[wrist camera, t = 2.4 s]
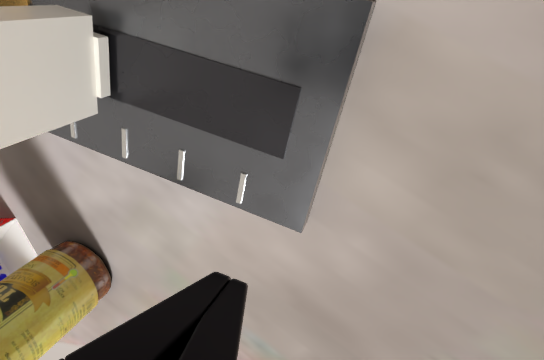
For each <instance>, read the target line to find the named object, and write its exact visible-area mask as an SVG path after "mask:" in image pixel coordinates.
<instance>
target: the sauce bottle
mask: <svg viewBox="0 0 544 360" xmlns="http://www.w3.org/2000/svg"><path fill="white" fill-rule="evenodd" d="M110 287H111V277H110V274H109V272H108V270H107V268H106V267H105V265H104V263H103V261H102V260H101V258H100V257H98V256H97V255H96V254H95V253H94V252H92V251H91V250H90V249H89V248H87V247H85V246H83V245H81V244H80V243H75V242H73V241H72V242H71V241H66V242H64V243H61V244H59V245H57V246H56V247H54V248H53V249H50V250H46V251H45V252H43V253H42V254H40V255H39V256H37V257H36V258H34V259H33V260H31V261H30V262H28V263H27V264H25V265H24V266H22V267H21V268H19V269H18V270H16V271H15V272H13V273H12V274H10V275H9V276H7V277H6V278H4V279H3V280H1V281H0V360H38V359H39V358H40V357H41V356H42V355H44V354H45V353H46V352H47V351H48V350H49V349H50V348H51V347H52V346H53V345H54V344H56V343H57V342H58V341H59V340H60V339H61V338H62V337H63V336H64V335H65V334H66V333H68V332H69V331H70V330H71V329H72V328H73V327H74V326H75V325H76V324H77V323H78V322H79V321H80V320H82V319H83V318H84V317H85V316H86V315H87V314H88V313H89V312H90V311H91V310H92V309H93V308H94V307H95V306H96V305H97V303H98V301H99V300H100V299H101V298H103V296H104V295H106V294H107V292H108V291H109V289H110Z"/></svg>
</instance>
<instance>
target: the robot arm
mask: <svg viewBox="0 0 544 360" xmlns="http://www.w3.org/2000/svg"><path fill="white" fill-rule="evenodd" d="M247 289H248V285H247V284H246V283H244V282H242V281H239V280H237V279H231V278H230V277H229V276H226V275H224V274H221V273H219V272H213V273H211V274H210V275H208V276H206V277H204V278H202V279H201V280H199V281H197V282H195V283H194V284H192V285H190V286H188V287H187V288H185V289H183V290H181V291H180V292H178V293H176V294H174V295H173V296H171V297H169V298H167V299H166V300H164V301H162V302H160V303H158V304H157V305H155V306H153V307H151V308H150V309H148V310H146V311H144V312H143V313H141V314H139V315H137V316H136V317H134V318H132V319H130V320H129V321H127V322H125V323H123V324H122V325H120V326H118V327H116V328H115V329H113V330H111V331H109V332H107V333H106V334H104V335H102V336H100V337H99V338H97V339H95V340H93V341H92V342H90V343H88V344H86V345H85V346H83V347H81V348H79V349H78V350H76V351H74V352H72V353H71V354H69V355H67V356H66V357H65V360H237V356H238V349H239V342H240V336H241V329H242V322H243V316H244V309H245V302H246V296H247ZM60 360H64V359H60Z"/></svg>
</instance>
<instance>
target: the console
mask: <svg viewBox="0 0 544 360" xmlns="http://www.w3.org/2000/svg"><path fill="white" fill-rule="evenodd" d="M375 4H376V1H372V0H0V6H33V5H59V6H62V7H66V8H69V9H72V10H76V11H79V12H82V13H86V14H89V15H92V22H93V32H95V33H98V34H101V35H104V36H107V37H108V43H109V70H110V96H107V97H104V98H99V97H97V107H98V114H95V115H93V116H90V117H87V118H84V119H82V120H79V121H76V122H73V123H71V124H68V125H65V126H62V127H60V128H57V129H54V130H51V131H49V133H52V134H54V135H57V136H59V137H62V138H64V139H67V140H70V141H72V142H75V143H77V144H80V145H82V146H85V147H87V148H90V149H92V150H95V151H97V152H100V153H102V154H105V155H107V156H110V157H112V158H115V159H117V160H120V161H122V162H125V163H127V164H130V165H132V166H135V167H137V168H140V169H142V170H145V171H147V172H150V173H152V174H155V175H157V176H160V177H162V178H165V179H167V180H170V181H172V182H175V183H177V184H180V185H182V186H185V187H187V188H190V189H192V190H195V191H197V192H200V193H202V194H205V195H207V196H210V197H212V198H215V199H217V200H220V201H222V202H225V203H227V204H230V205H232V206H235V207H237V208H240V209H242V210H245V211H247V212H250V213H252V214H255V215H257V216H260V217H262V218H265V219H267V220H270V221H272V222H275V223H277V224H280V225H282V226H285V227H287V228H290V229H292V230H295V231H297V232H300V233H301V232H302V231H303V229H304V227H305V225H306V223H307V220H308V217H309V214H310V211H311V207H312V204H313V201H314V198H315V195H316V191H317V188H318V185H319V182H320V179H321V176H322V172H323V169H324V166H325V163H326V160H327V156H328V153H329V150H330V147H331V144H332V141H333V137H334V134H335V131H336V128H337V125H338V121H339V118H340V115H341V112H342V109H343V105H344V102H345V99H346V96H347V93H348V90H349V86H350V83H351V80H352V77H353V74H354V70H355V67H356V64H357V61H358V58H359V55H360V51H361V48H362V45H363V42H364V39H365V35H366V32H367V29H368V26H369V23H370V20H371V16H372V13H373V10H374V7H375Z"/></svg>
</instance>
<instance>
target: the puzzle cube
mask: <svg viewBox="0 0 544 360" xmlns="http://www.w3.org/2000/svg"><path fill="white" fill-rule="evenodd" d="M37 256H38V255H37V254H36V252H35V250H34V248H33V247H32V245H31V243H30V241H29V240H28V238H27V236H26V235H25V233H24V231H23V229H22V228H21V226H20V224H19V223H18V221H17V219H16V218H5V219H0V281H1V280H3V279H4V278H6V277H7V276H9V275H10V274H12V273H13V272H15V271H16V270H18V269H19V268H21V267H22V266H24V265H25V264H27V263H28V262H30V261H31V260H33V259H34V258H36V257H37Z"/></svg>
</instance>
